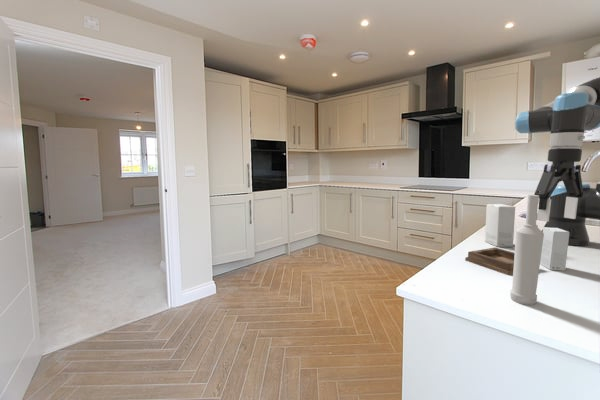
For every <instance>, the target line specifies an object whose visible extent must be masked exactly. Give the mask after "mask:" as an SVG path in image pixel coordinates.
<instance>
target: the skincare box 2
mask: <svg viewBox="0 0 600 400" xmlns="http://www.w3.org/2000/svg"><path fill="white" fill-rule="evenodd" d="M542 230H543V233H544V238H543V245H542V253H541V260H540V266H543V267H545V268H546V269H548V270H550V271H561V272H563V271H566V266H567V257H568V256H567V255H568V250H569V249H568V248H569V245H568V241H569V233H570V232H568V231H565V230H562V229H559V228H548V227H544V226H543V228H542Z"/></svg>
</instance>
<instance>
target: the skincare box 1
mask: <svg viewBox="0 0 600 400" xmlns="http://www.w3.org/2000/svg"><path fill="white" fill-rule="evenodd" d="M515 216H516V206H514V205H508V204H504V203H494V204H492V203H489V204H486V211H485V230H484V231H485V233H484V235H485V236H484V243H487V244H490V245H492V246H494V247H496V248H510V247H511V248H512V247H514V237H515V218H516V217H515Z"/></svg>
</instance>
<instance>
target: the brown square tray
mask: <svg viewBox="0 0 600 400" xmlns="http://www.w3.org/2000/svg"><path fill="white" fill-rule="evenodd" d="M514 255H515V251H514V252H513V251H510V250H506V249H503V248H500V247H491V248H490V247H489V248H483V249H477V250H472V251H468V253H467V257H464V258H465V262H469V263H472V264H475V265H478V266H481V267H484V268H486V269H490V270H492V271H496V272H497V273H498V272H499V273H501V274H504V275H507V276H509V275H513V269H514Z"/></svg>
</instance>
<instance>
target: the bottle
mask: <svg viewBox="0 0 600 400" xmlns="http://www.w3.org/2000/svg"><path fill="white" fill-rule="evenodd" d="M526 201H527V205H526V214H525V222H524V223H523V226H521V227H518V229H516V230H515V245H514V253H515V255H514V269H513V274H512V285H511V289H510V296H509V297H510V299H511V300H512V301H513V302H515V303H518V304H522V305H526V306H533V305H535V304H536V303H537V300H538V295H537V288H538V281H539V273H540V266H541V264H540V260H541V253H542V245H543V238H544V233H543V232H542V230H541V229H540V228H539V226H538V225H537V215H538V207H539V195H534V194H528V195H527V200H526Z"/></svg>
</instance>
